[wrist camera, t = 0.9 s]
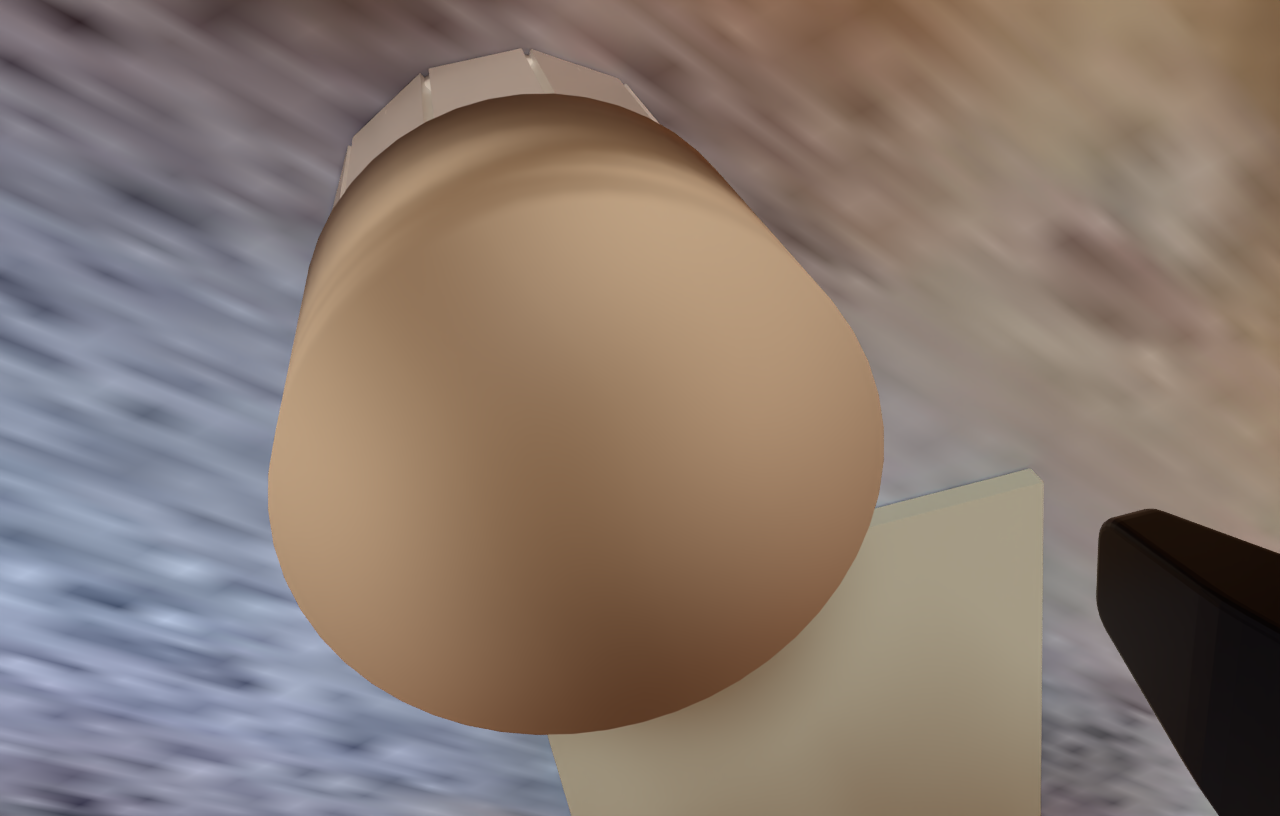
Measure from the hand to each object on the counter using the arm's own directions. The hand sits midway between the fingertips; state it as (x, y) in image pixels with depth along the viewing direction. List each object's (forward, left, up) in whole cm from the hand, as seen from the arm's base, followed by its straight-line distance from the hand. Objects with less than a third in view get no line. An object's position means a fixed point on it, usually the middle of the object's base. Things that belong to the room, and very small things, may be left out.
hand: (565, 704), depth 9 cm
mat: (-5, +15, -13) cm, 20 cm away
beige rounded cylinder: (-1, +1, -9) cm, 9 cm away
